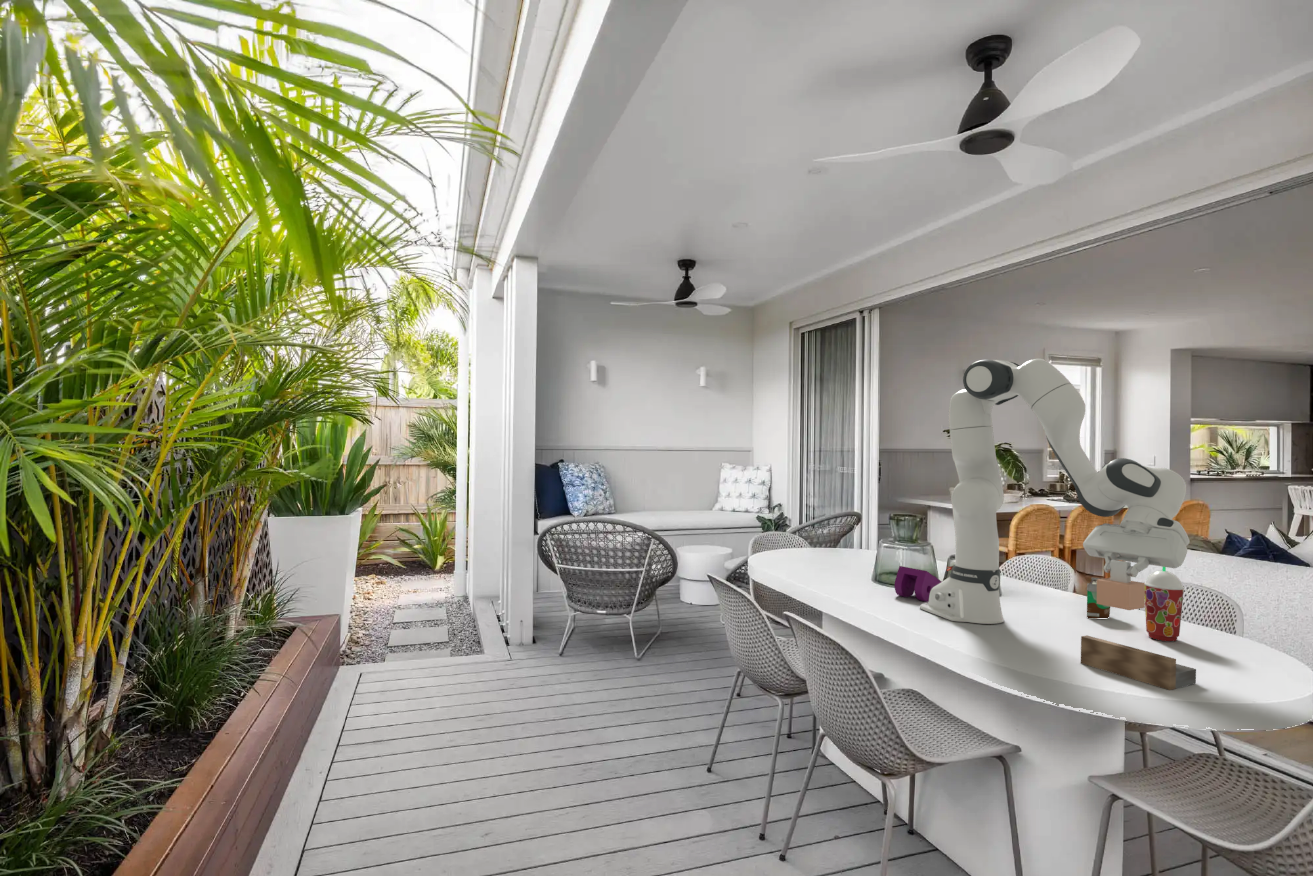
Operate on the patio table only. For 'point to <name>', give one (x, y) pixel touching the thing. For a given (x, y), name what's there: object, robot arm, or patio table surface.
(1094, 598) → the food container
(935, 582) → the mounting bracket
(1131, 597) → the peach box
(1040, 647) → the patio table surface
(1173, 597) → the smoothie
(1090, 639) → the wall board
